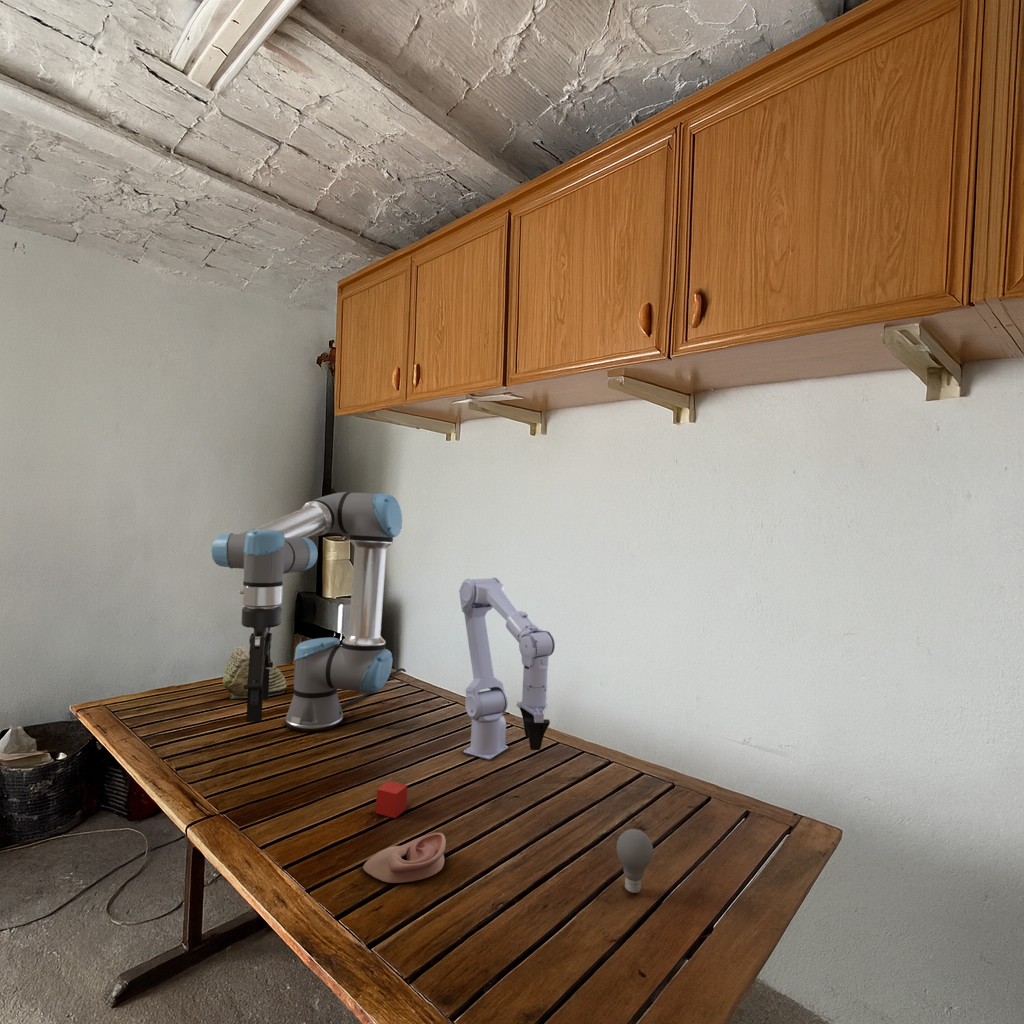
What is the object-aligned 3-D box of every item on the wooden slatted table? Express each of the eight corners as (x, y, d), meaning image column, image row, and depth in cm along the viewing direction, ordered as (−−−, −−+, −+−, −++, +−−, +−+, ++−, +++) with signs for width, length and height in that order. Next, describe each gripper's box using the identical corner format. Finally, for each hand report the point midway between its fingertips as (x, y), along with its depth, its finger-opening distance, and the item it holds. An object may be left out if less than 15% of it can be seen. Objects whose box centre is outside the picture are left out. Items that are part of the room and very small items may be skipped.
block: (387, 804, 132) (388, 780, 132) (406, 809, 130) (407, 785, 130) (375, 813, 128) (376, 788, 128) (395, 818, 126) (396, 793, 126)
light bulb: (610, 879, 108) (613, 822, 108) (644, 879, 109) (647, 822, 109) (619, 902, 102) (622, 840, 102) (655, 901, 103) (658, 840, 103)
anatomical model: (355, 854, 106) (383, 820, 117) (354, 877, 106) (382, 841, 117) (431, 866, 103) (452, 831, 114) (430, 890, 103) (451, 852, 114)
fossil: (218, 695, 195) (220, 647, 195) (278, 685, 208) (279, 640, 207) (228, 703, 189) (230, 653, 188) (289, 692, 201) (290, 645, 201)
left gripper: (249, 596, 140) (245, 692, 140) (233, 617, 116) (228, 732, 116) (285, 596, 142) (281, 690, 142) (276, 617, 118) (272, 730, 118)
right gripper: (514, 675, 153) (511, 731, 153) (522, 694, 138) (519, 755, 138) (542, 675, 153) (540, 731, 154) (554, 694, 139) (551, 755, 139)
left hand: (257, 710), depth 129 cm, fingers open, 13 cm apart
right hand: (532, 742), depth 146 cm, fingers open, 7 cm apart
